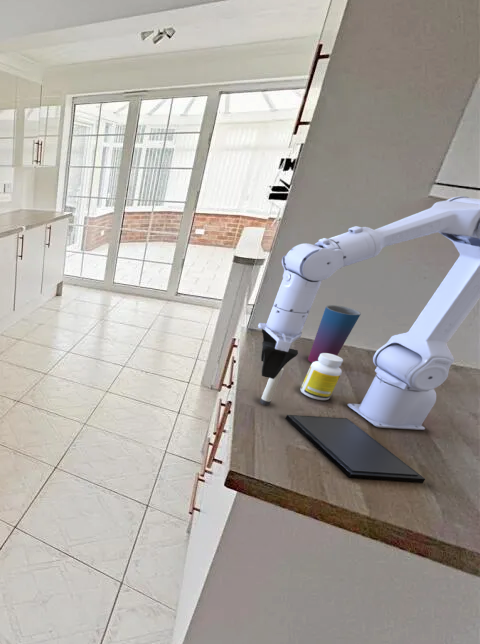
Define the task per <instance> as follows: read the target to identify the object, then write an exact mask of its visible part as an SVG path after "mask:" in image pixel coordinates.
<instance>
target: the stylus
mask: <svg viewBox="0 0 480 644" xmlns="http://www.w3.org/2000/svg"><path fill="white" fill-rule="evenodd" d="M284 371H285V368H284V367H283V368H282V369H281V371H280V372H279V373H278V375H277V376H276V377H275V378H274V379H272V378H268V380H267V382H266V385H265V387H264V390H263V392H262V395H261V397H260V400H259V403H260V404H261V405H264V406H270V404H271V402H272V400H273V397H274V395H275V392H276V390H277V387H278V385H279V382H280V380H281V378H282V375H283V372H284Z"/></svg>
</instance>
